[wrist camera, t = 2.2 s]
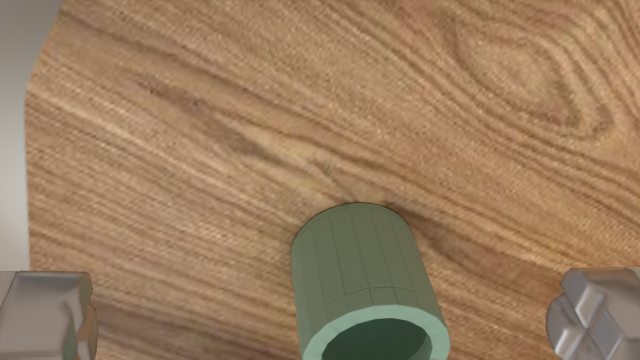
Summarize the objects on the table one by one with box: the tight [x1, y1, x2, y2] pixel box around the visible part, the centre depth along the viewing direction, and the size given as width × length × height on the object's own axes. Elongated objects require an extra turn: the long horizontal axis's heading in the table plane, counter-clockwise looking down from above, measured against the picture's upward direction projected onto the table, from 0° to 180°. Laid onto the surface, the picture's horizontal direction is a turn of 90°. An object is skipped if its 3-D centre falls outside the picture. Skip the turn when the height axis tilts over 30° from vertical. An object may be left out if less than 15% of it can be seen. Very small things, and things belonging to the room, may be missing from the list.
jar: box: [291, 203, 451, 360], centre depth 42 cm, size 10×10×10 cm
